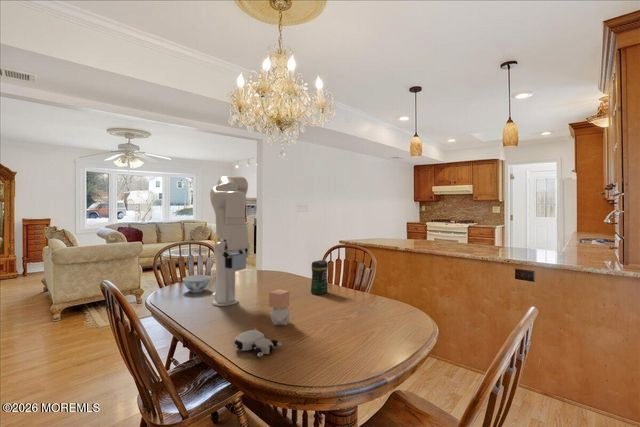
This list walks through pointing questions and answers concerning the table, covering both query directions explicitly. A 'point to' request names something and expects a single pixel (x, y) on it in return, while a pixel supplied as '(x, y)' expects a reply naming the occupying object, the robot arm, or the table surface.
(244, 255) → the slate block
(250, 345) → the robot toy
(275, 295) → the terracotta block
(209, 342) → the table surface
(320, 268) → the coffee jar
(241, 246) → the robot arm
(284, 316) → the die
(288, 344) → the table surface
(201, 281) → the chinaware
